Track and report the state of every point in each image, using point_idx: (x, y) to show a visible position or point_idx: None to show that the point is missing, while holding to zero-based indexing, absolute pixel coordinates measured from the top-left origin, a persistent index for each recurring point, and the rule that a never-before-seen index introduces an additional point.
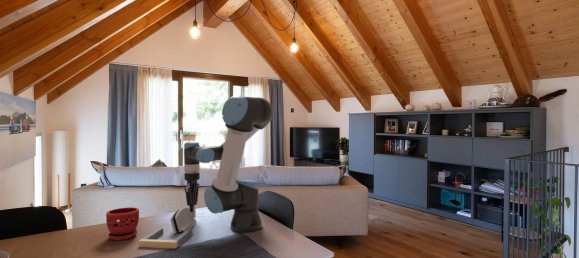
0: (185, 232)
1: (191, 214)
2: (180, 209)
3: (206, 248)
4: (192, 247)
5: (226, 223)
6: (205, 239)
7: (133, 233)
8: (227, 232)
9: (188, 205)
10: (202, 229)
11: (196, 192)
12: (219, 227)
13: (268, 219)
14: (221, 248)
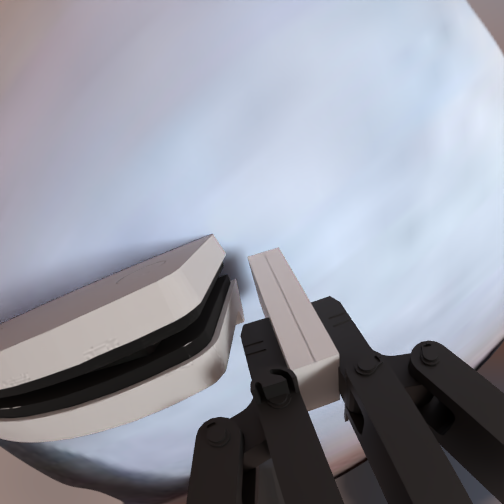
0: None
1: (234, 328)
2: (28, 423)
3: (43, 464)
4: (13, 441)
5: None
6: (76, 450)
7: None
8: (181, 466)
9: (258, 388)
10: None
11: (492, 484)
12: None
13: (361, 454)
14: (75, 482)
